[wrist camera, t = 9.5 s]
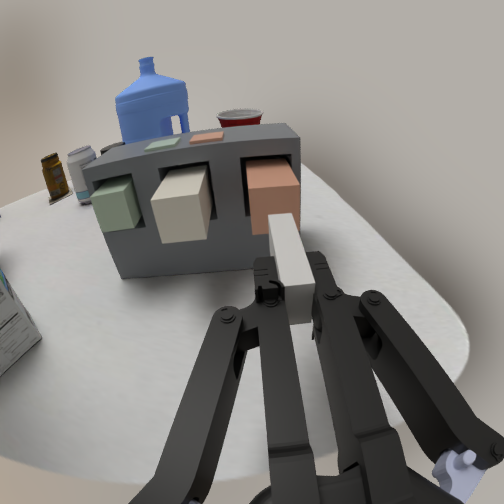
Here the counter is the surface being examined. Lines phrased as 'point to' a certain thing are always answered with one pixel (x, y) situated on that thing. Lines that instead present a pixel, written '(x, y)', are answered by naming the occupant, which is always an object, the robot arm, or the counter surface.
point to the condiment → (55, 178)
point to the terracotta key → (271, 192)
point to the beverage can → (80, 171)
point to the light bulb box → (14, 326)
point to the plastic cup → (239, 117)
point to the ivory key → (183, 205)
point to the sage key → (117, 204)
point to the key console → (222, 189)
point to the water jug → (151, 105)
